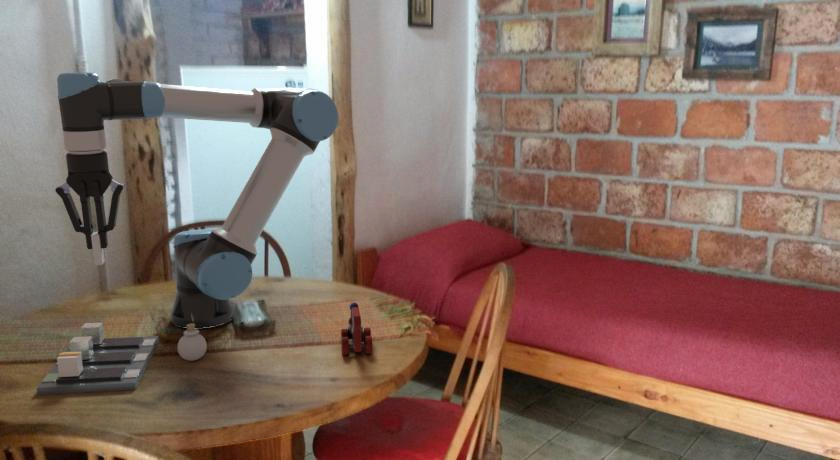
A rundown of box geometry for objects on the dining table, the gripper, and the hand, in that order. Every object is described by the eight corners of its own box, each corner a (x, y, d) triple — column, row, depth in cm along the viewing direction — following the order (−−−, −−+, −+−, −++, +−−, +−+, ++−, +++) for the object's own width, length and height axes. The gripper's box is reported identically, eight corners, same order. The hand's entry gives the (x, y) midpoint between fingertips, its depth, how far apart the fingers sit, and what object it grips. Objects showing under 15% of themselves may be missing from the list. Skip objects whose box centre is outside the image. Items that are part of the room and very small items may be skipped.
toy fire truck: (369, 338, 163) (369, 297, 160) (373, 359, 151) (373, 315, 148) (340, 339, 162) (340, 297, 159) (341, 360, 150) (341, 316, 147)
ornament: (176, 366, 145) (173, 322, 143) (181, 352, 152) (178, 310, 150) (205, 364, 146) (203, 320, 144) (209, 350, 153) (207, 308, 151)
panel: (159, 342, 157) (157, 316, 155) (135, 389, 134) (133, 360, 133) (75, 345, 154) (73, 319, 152) (37, 394, 131) (33, 364, 129)
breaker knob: (82, 370, 137) (80, 350, 136) (78, 376, 134) (76, 355, 133) (63, 370, 136) (61, 351, 135) (59, 377, 133) (56, 356, 132)
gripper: (124, 147, 141) (135, 256, 147) (55, 149, 138) (70, 260, 144) (117, 152, 134) (130, 266, 140) (45, 154, 131) (61, 270, 137)
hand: (99, 263), depth 142 cm, fingers closed
